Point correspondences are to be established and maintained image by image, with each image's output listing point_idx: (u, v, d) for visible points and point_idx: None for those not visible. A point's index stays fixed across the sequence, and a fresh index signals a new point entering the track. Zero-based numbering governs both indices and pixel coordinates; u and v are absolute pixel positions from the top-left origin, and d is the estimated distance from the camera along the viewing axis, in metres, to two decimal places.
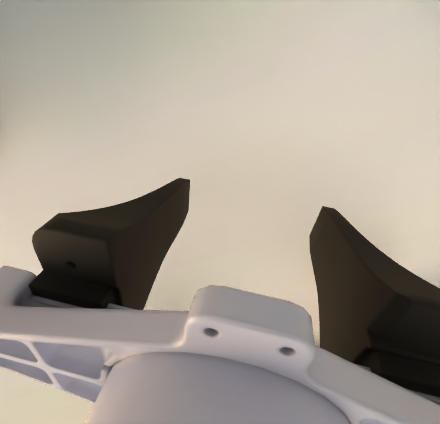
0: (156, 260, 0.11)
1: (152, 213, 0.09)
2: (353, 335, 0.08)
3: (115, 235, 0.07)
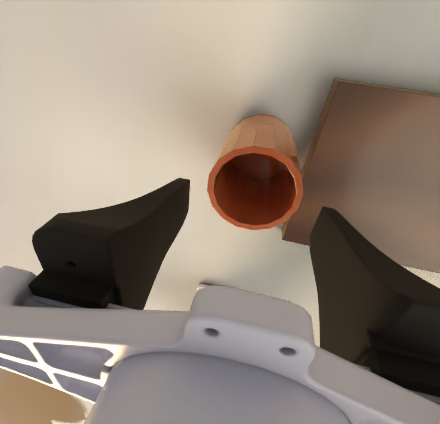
0: (156, 260, 0.11)
1: (152, 213, 0.09)
2: (353, 335, 0.08)
3: (115, 235, 0.07)
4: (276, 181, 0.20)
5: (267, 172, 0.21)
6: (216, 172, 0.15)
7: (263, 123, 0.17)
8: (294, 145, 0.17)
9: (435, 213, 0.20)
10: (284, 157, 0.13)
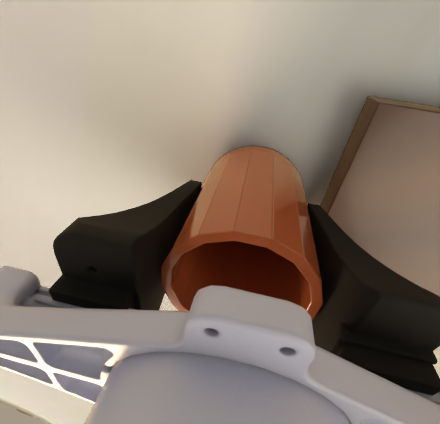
0: None
1: (169, 217, 0.09)
2: (329, 329, 0.08)
3: (138, 240, 0.07)
4: None
5: None
6: (173, 263, 0.08)
7: (256, 166, 0.11)
8: (304, 198, 0.11)
9: None
10: (291, 252, 0.07)
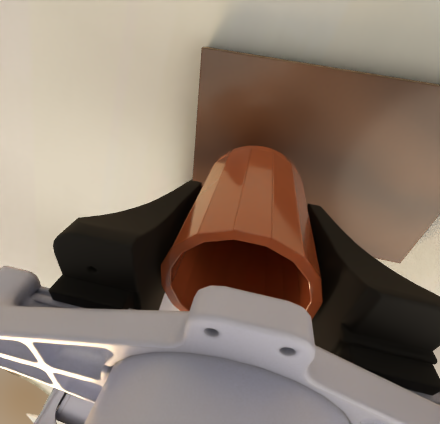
0: None
1: (169, 217, 0.09)
2: (329, 329, 0.08)
3: (138, 240, 0.07)
4: None
5: None
6: (172, 262, 0.08)
7: (255, 165, 0.11)
8: (303, 198, 0.11)
9: (323, 187, 0.20)
10: (290, 250, 0.07)
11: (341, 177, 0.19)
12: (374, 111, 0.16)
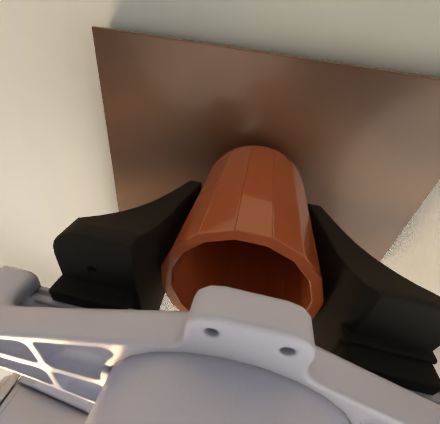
0: None
1: (169, 217, 0.09)
2: (329, 329, 0.08)
3: (138, 240, 0.07)
4: None
5: None
6: (173, 262, 0.08)
7: (256, 165, 0.11)
8: (304, 197, 0.11)
9: None
10: (291, 250, 0.07)
11: None
12: (310, 105, 0.13)
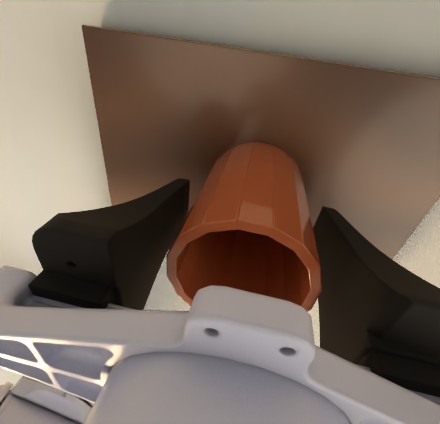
0: (156, 260, 0.11)
1: (152, 213, 0.09)
2: (353, 335, 0.08)
3: (115, 235, 0.07)
4: None
5: None
6: (178, 252, 0.09)
7: (257, 160, 0.11)
8: (304, 192, 0.12)
9: None
10: (291, 239, 0.08)
11: None
12: (313, 108, 0.12)
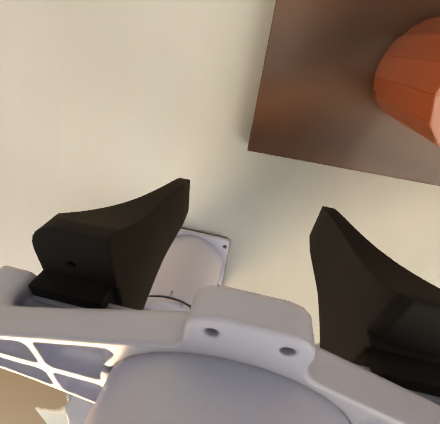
0: (156, 260, 0.11)
1: (152, 214, 0.09)
2: (353, 335, 0.08)
3: (115, 235, 0.07)
4: None
5: None
6: None
7: None
8: None
9: None
10: None
11: None
12: None
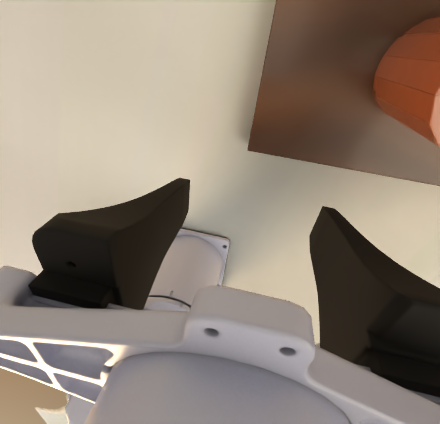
0: (156, 260, 0.11)
1: (152, 214, 0.09)
2: (353, 335, 0.08)
3: (115, 235, 0.07)
4: None
5: None
6: None
7: None
8: None
9: None
10: None
11: None
12: None
